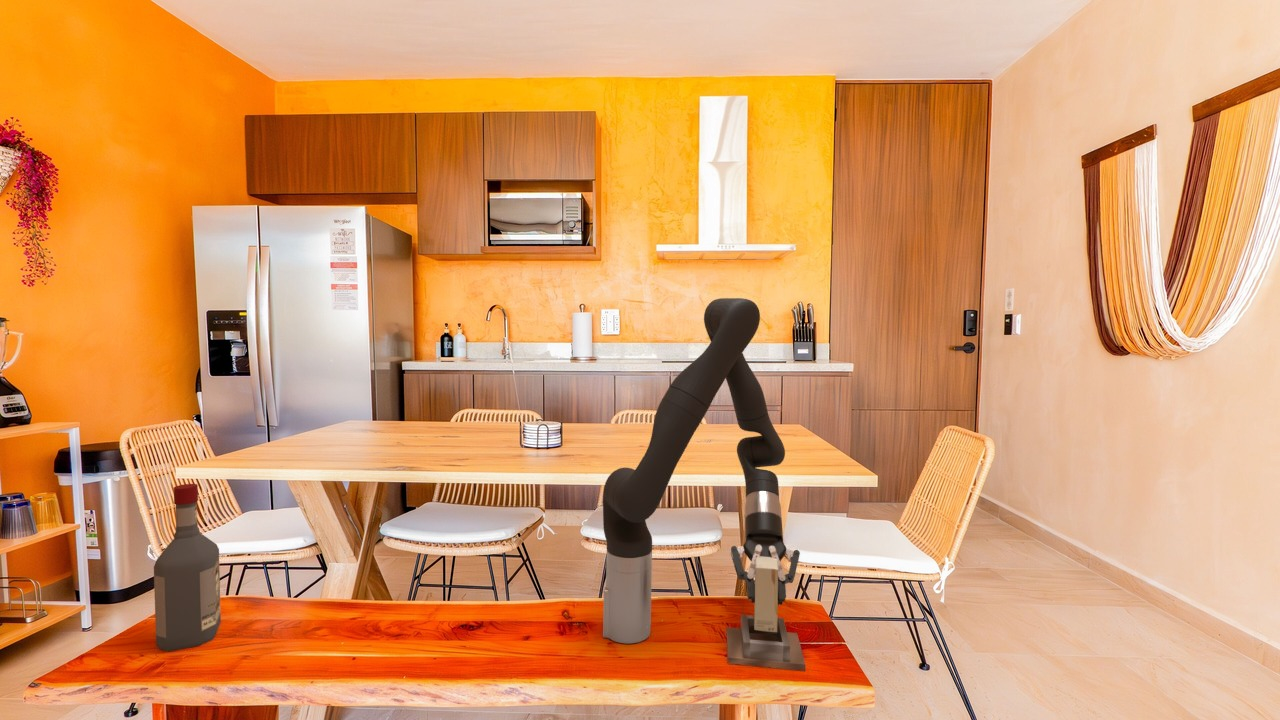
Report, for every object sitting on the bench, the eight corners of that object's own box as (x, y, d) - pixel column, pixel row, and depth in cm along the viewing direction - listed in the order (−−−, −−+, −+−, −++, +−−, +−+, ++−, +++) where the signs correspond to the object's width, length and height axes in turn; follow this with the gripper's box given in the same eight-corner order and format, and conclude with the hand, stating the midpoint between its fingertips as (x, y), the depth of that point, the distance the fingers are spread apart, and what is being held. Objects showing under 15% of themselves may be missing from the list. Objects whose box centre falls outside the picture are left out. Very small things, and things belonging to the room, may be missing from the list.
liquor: (153, 655, 107) (148, 495, 105) (166, 632, 115) (162, 482, 113) (214, 643, 111) (210, 489, 109) (222, 621, 119) (219, 478, 117)
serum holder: (727, 663, 108) (728, 641, 107) (726, 632, 118) (727, 612, 118) (805, 670, 106) (806, 648, 106) (796, 638, 117) (797, 618, 116)
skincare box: (777, 633, 108) (779, 570, 108) (753, 631, 109) (755, 568, 109) (776, 616, 115) (777, 556, 114) (754, 614, 116) (755, 554, 115)
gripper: (729, 508, 119) (729, 592, 108) (800, 512, 117) (808, 598, 106) (728, 524, 125) (728, 606, 113) (796, 528, 123) (803, 611, 112)
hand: (766, 601), depth 110 cm, fingers closed on skincare box, 4 cm apart
